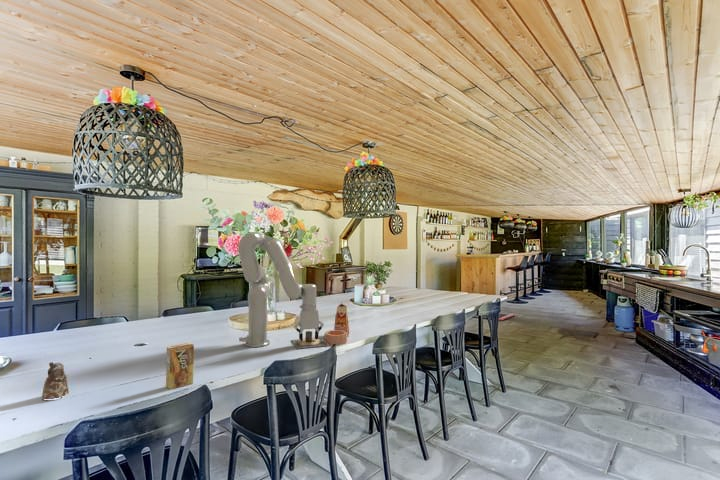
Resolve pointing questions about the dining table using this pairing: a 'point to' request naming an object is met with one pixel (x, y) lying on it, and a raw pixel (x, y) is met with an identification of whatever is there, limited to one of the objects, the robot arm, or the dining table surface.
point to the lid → (308, 340)
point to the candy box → (179, 365)
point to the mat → (308, 346)
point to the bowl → (335, 337)
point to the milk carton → (342, 319)
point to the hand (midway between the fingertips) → (308, 339)
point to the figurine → (55, 382)
